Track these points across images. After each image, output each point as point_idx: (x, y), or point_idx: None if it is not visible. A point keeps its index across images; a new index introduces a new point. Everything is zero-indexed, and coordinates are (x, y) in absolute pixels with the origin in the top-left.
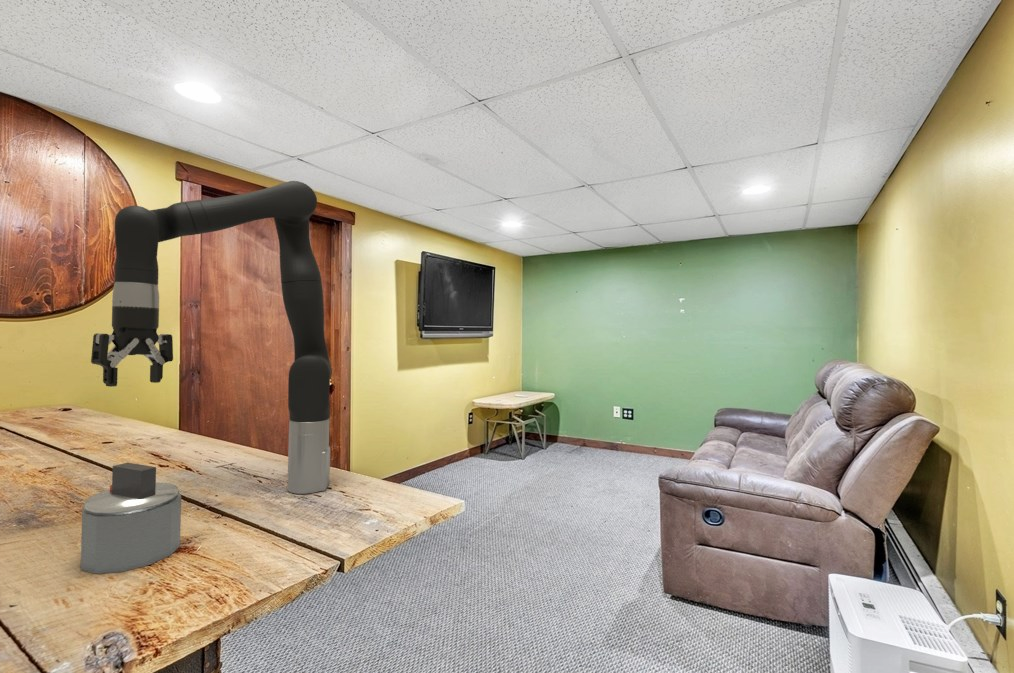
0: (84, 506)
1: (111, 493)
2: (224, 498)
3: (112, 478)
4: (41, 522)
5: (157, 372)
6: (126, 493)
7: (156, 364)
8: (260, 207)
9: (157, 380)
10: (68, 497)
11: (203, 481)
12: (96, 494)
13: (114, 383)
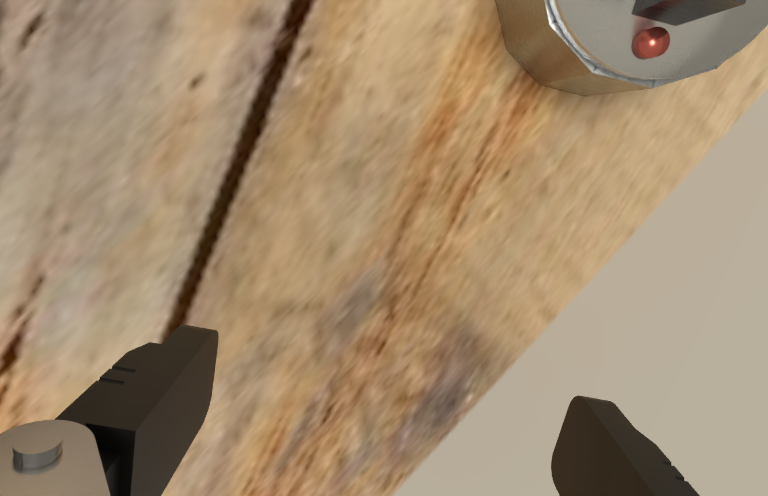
0: (710, 68)
1: (672, 30)
2: (212, 37)
3: (711, 13)
4: (449, 361)
5: (177, 380)
6: None
7: (112, 478)
8: None
9: (211, 334)
10: (304, 448)
11: (97, 220)
12: (681, 72)
13: (612, 405)
